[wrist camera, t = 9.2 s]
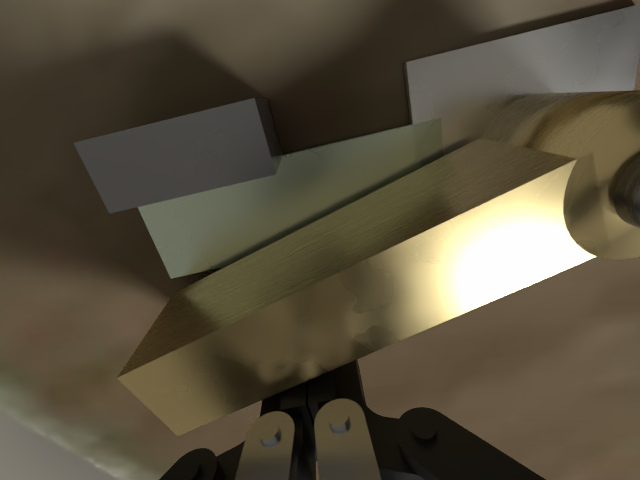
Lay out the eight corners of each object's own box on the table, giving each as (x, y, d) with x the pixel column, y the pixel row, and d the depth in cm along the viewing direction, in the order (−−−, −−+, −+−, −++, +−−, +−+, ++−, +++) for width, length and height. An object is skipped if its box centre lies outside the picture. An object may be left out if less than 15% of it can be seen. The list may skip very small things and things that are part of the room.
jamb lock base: (109, 135, 10) (-79, 170, 5) (636, 5, 10) (1013, -102, 5) (191, 313, 13) (119, 448, 8) (607, 222, 12) (822, 308, 7)
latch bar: (575, 69, 10) (742, 50, 6) (594, 176, 11) (739, 215, 7) (164, 281, 12) (101, 363, 8) (221, 350, 13) (189, 447, 9)
